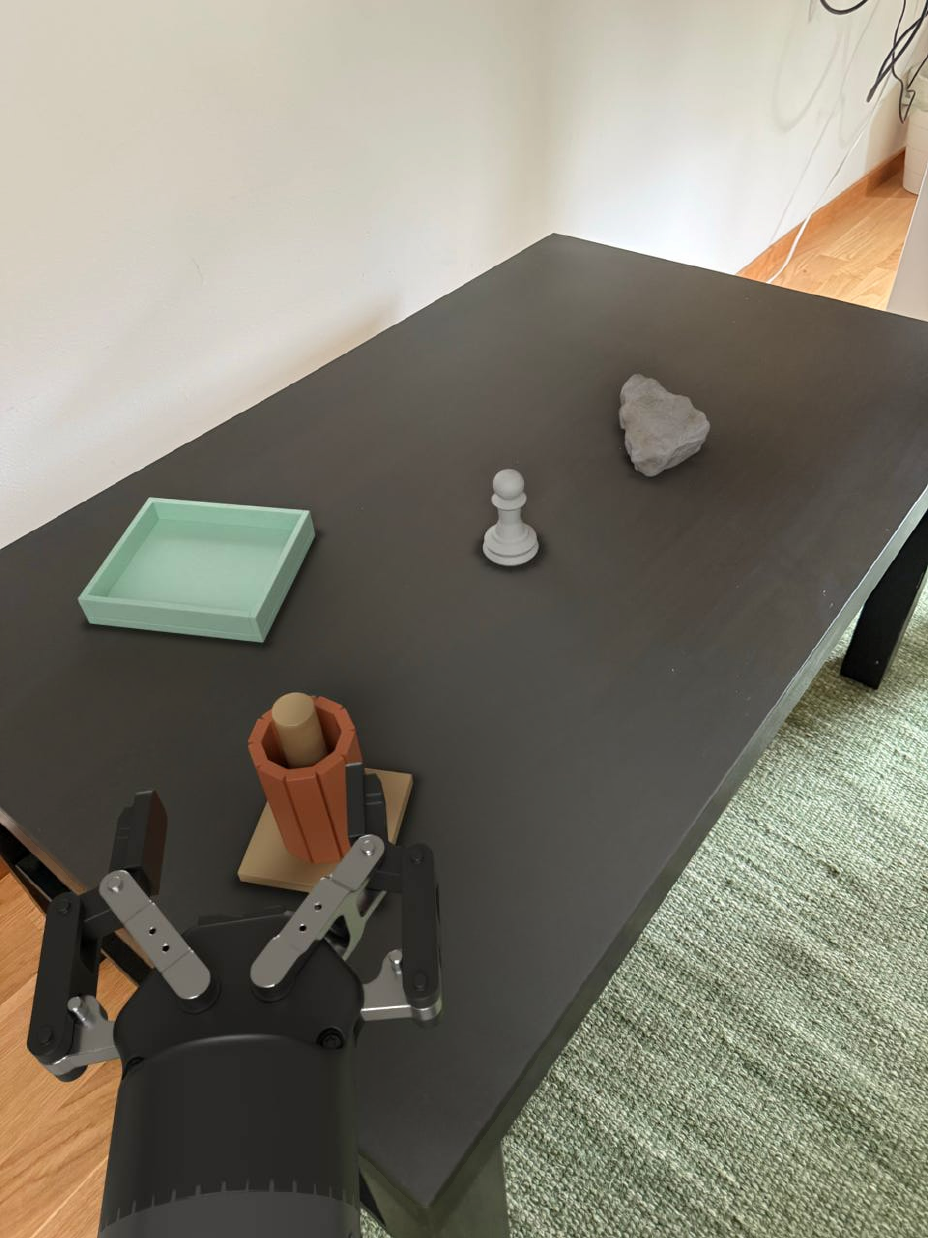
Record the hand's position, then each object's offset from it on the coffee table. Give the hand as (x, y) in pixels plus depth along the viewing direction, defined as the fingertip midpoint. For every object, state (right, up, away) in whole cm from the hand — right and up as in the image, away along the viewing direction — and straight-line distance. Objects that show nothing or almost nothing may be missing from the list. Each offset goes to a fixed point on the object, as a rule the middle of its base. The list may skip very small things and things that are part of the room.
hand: (254, 788), depth 39 cm
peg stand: (0, -7, +22) cm, 23 cm away
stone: (+27, +23, +49) cm, 61 cm away
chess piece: (+13, +13, +40) cm, 44 cm away
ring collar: (0, -6, +21) cm, 22 cm away
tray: (-13, +11, +40) cm, 44 cm away
